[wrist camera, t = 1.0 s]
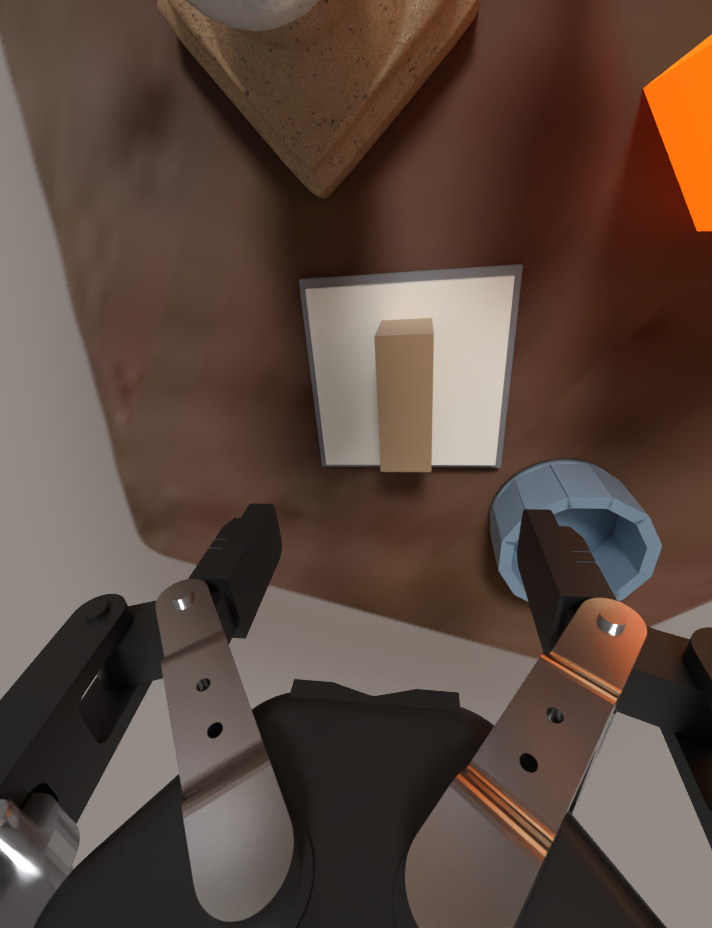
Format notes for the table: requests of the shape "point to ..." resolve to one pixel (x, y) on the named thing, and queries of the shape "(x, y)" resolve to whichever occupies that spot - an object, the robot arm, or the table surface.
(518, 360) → the table surface
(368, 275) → the mat
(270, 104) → the candle holder
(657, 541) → the bowl
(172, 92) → the table surface
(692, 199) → the orange juice
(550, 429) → the table surface
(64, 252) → the table surface
